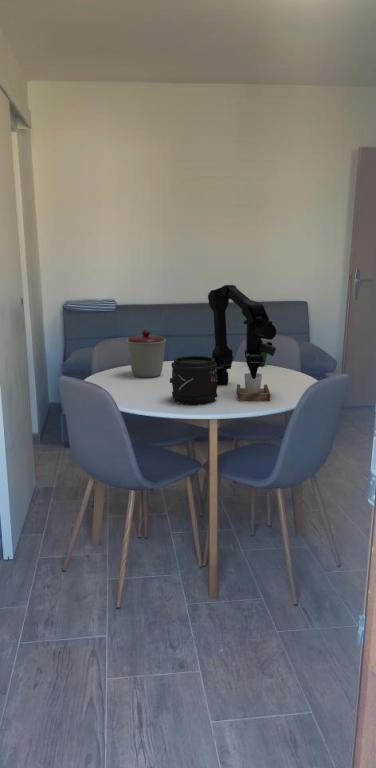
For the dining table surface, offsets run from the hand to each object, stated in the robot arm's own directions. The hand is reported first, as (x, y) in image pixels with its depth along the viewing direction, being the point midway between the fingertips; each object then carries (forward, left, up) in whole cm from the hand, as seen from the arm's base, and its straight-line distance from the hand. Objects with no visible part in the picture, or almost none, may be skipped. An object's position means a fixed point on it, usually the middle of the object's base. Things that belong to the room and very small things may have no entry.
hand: (253, 376), depth 230 cm
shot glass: (0, 0, -6) cm, 7 cm away
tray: (0, -2, -8) cm, 8 cm away
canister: (-46, +36, -8) cm, 59 cm away
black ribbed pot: (-23, -8, -8) cm, 26 cm away
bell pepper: (+6, +60, -8) cm, 61 cm away
